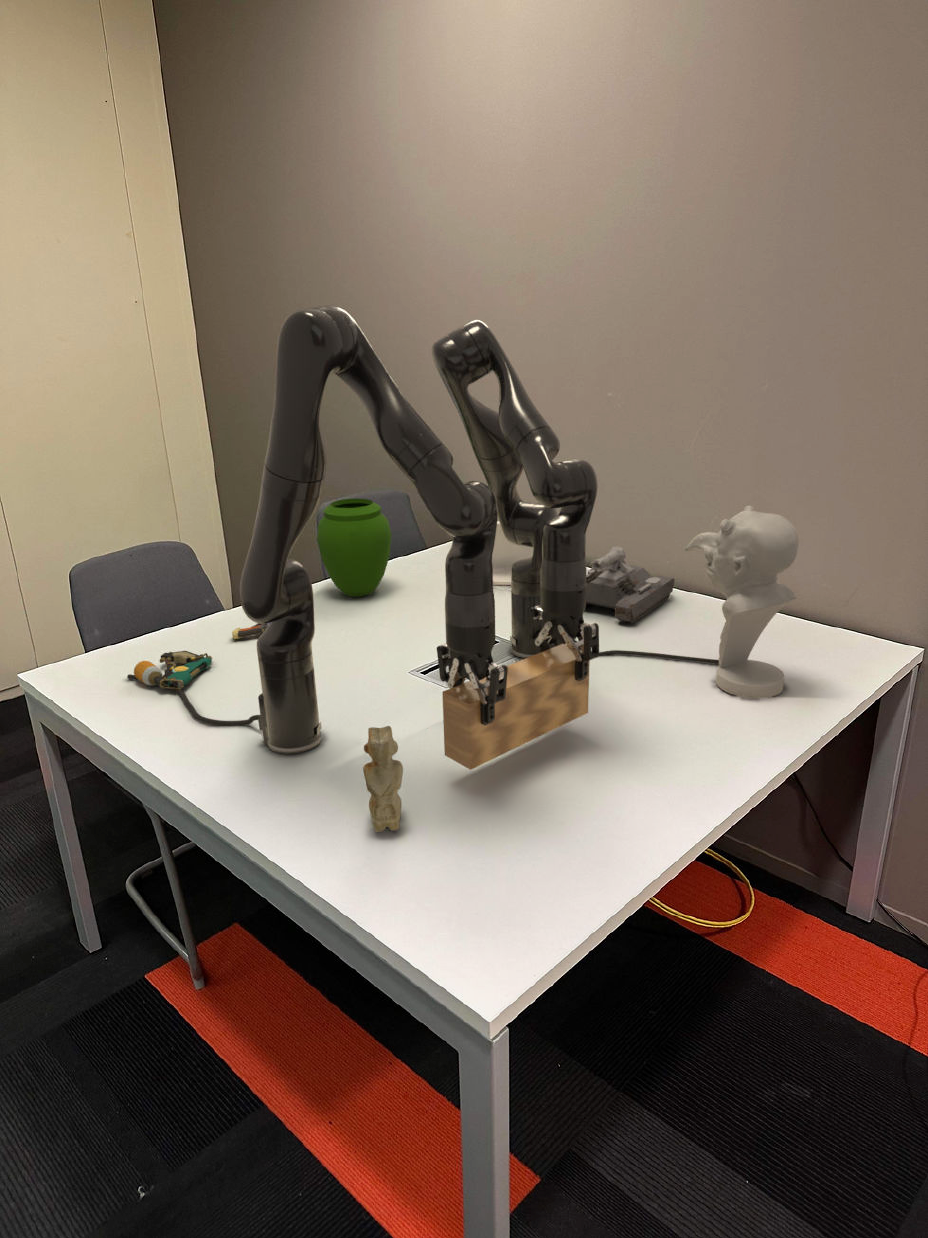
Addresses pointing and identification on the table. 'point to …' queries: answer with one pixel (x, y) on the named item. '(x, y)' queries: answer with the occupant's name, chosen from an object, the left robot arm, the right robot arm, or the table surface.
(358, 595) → the vase
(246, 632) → the toy gun
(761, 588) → the bust sculpture
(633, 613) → the toy
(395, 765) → the sculpture
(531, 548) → the tablet stand
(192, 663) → the spray gun
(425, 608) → the table surface
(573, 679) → the box
